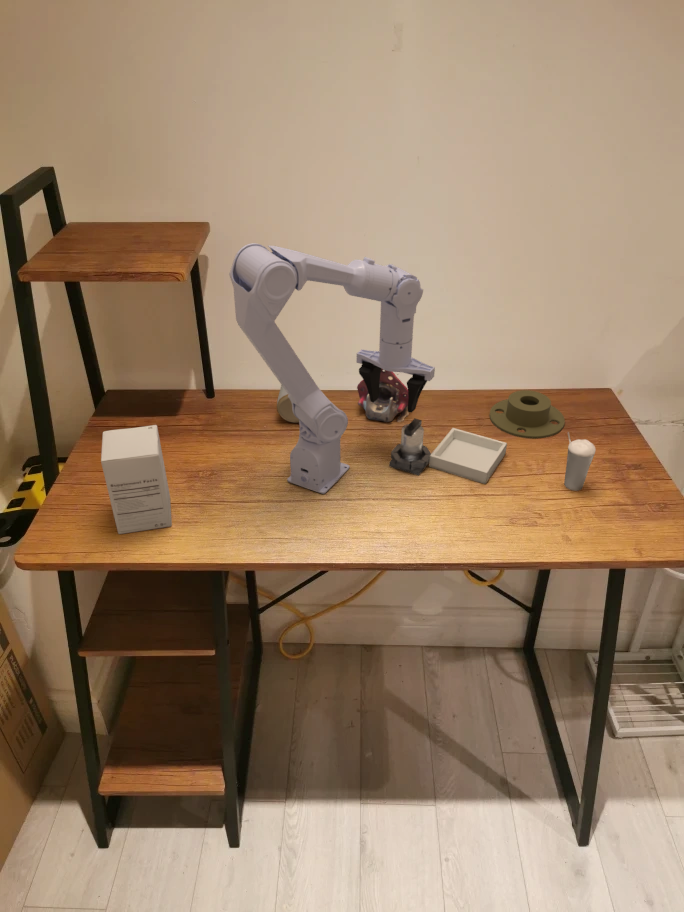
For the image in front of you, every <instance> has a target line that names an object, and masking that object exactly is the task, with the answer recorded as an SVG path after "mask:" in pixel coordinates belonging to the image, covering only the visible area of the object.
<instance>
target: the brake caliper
mask: <svg viewBox="0 0 684 912" xmlns="http://www.w3.org/2000/svg"><path fill="white" fill-rule="evenodd" d="M356 390H357V393H358V396H359V400H358V402H357V405H358V406H360V407H361V408H363V410H364V412H365V416H366V417H367V419H368V420H373V421H378V422H379V421H380V422H384V423H389V422H392V421H393V420H394V418H395V417H396V416H397V415H399V414H400V415H399V416H397V420H396V422H397V423H401V422H404V421H405V418H407V417H408V416H409V415H410V412H408V387H407V385H405V384H404V383H403V382H402V380H401V379H400V378H398V376H397V375H396V374H395V372H391V371H386V370H384V369H382V368H381V374H380V383H379V398H378V399H377V400H376V401H375V402H371V401H370V396H369V393H368V389H367V386H366V384H365V382H364V380H363V379H362V380H361V381H360V382H359V383H358V384H357V386H356Z"/></svg>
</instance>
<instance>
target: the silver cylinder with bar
mask: <svg viewBox="0 0 684 912" xmlns="http://www.w3.org/2000/svg"><path fill="white" fill-rule="evenodd" d="M422 422H423V421H422V419H418V418H413V419H412V420H411V421H410V422H409V423H407V424H404V425H403V426H402V427H401V434H400V440H401V441H400V444H401V453H400V458H401V459H404V460H408V461H416V460H421V459H422V449H423V445H424V433H425V429H424V427H423V426H422Z"/></svg>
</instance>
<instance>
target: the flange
mask: <svg viewBox="0 0 684 912" xmlns="http://www.w3.org/2000/svg"><path fill="white" fill-rule="evenodd" d="M498 411H499V412H498ZM500 412H502V413H500ZM489 419H490V422H491V423H492V424H493V426H495V427H496V428H497V429H498V430H500V431H501V432H503V433H505V434H507V435H511V436H513V437H517V438H523V439H535V440H536V439H545V438H549V437H550V438H551V437H552V436H555V435H557V434H559V433H560V432H561V431H562V430H563V429H564V427H565V423H566V422H565V416H564V414H563V413H562V412H561V411H560V409H558V408H556V407H555V406H553V405H552V401H551V399H550V397H548V396H547V395H545V394H543V393H541V392H539V391H536V390H527V389H526V390H525V389H523V390H517V391H514V392H512V393H510V394H509V396H508V398H507V399H503V400H500V401H498V402H496V403H495V404H494V405H492V407H491V408H490V410H489ZM553 422H555V423H557V424H554V423H553ZM520 430H521V431H524V432H520Z"/></svg>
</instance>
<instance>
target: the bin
mask: <svg viewBox="0 0 684 912" xmlns="http://www.w3.org/2000/svg"><path fill="white" fill-rule="evenodd" d="M507 446H508V442H504V441H501V440H497V439H494V438H490V437H487V436H483V435H479V434H476V433H473V432H470V431H469V432H468V431H466V430H462V429H459V428H455V427H451V429H450V430H449V432H447V434H446V435H445V437H444V438H443V439H442V440H441V442H439V443H438V445H437V447H435V449H433V451H432V452H431V455H430V460H429V464H428V467H429V468H432V469H436V470H438V471H441V472H444V473H448V474H452V475H454V476H458V477H461V478H464V479H467V480H470V481H473V482H478V483H479V484H483V485H486V484H487V482H488V481H489V479H490V478H491V477H492V475H493V474H494V472H495V470H496V469H497V467H498V466H499V465H500V463H501V461H502V460H503V458H504V457H505V456H506V452H507Z"/></svg>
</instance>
